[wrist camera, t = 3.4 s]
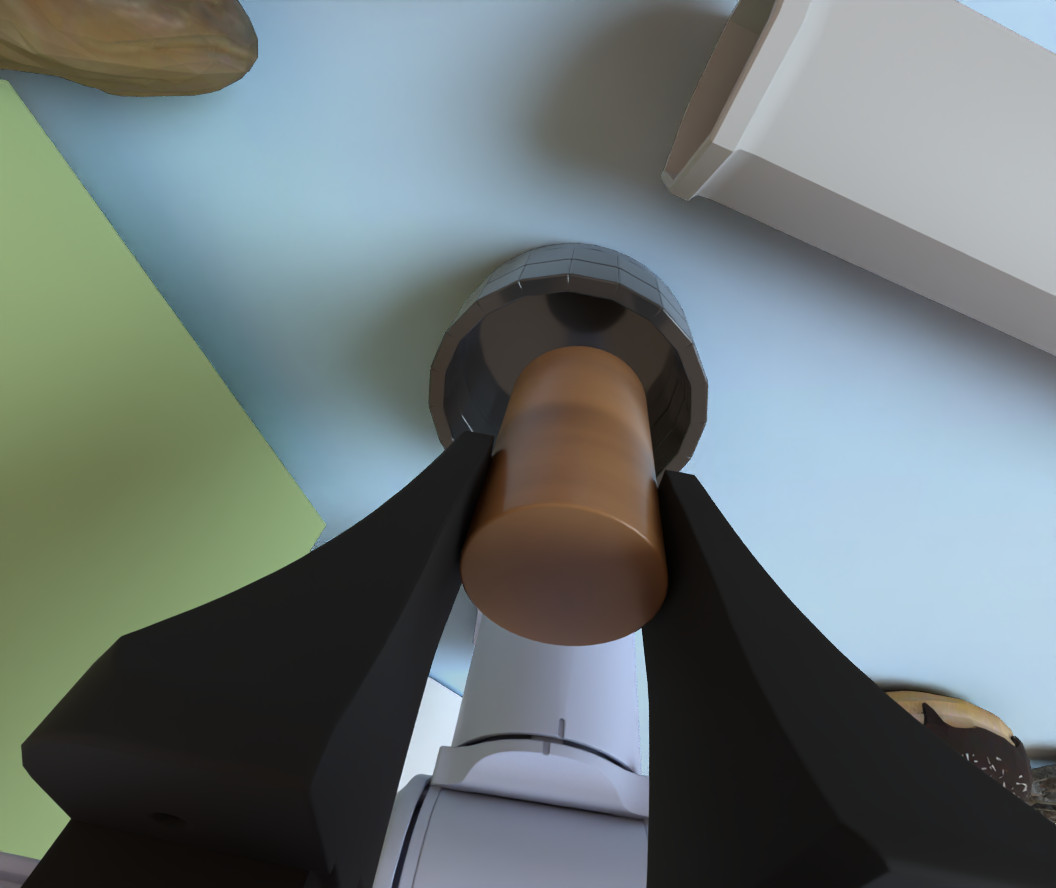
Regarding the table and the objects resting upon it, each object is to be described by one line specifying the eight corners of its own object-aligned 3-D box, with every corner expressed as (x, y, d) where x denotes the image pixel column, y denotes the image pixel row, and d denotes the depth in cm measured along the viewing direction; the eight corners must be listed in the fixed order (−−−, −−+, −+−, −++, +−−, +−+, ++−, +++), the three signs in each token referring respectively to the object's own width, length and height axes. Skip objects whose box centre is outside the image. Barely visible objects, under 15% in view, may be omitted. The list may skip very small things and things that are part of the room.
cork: (626, 472, 15) (636, 663, 10) (503, 448, 15) (451, 626, 10) (664, 360, 13) (699, 530, 8) (520, 332, 13) (466, 484, 8)
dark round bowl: (651, 477, 21) (658, 537, 18) (448, 437, 21) (424, 490, 19) (729, 270, 16) (755, 309, 13) (464, 219, 16) (434, 247, 14)
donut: (1015, 671, 25) (1076, 758, 22) (985, 783, 31) (1029, 864, 28) (774, 686, 28) (795, 764, 25) (788, 785, 34) (807, 858, 31)
